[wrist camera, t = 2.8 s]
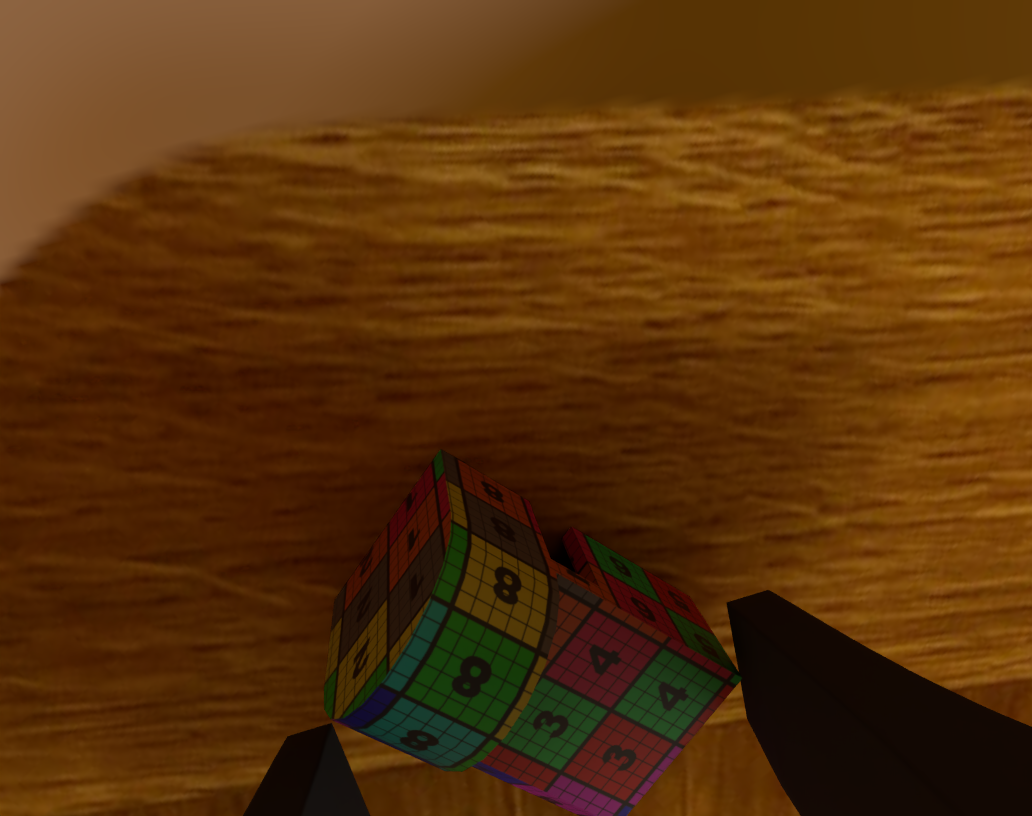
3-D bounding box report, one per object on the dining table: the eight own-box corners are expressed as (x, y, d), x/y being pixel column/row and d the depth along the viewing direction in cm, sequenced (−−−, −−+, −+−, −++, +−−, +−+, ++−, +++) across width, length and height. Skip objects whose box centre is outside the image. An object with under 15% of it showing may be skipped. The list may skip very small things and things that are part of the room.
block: (287, 666, 12) (250, 861, 9) (441, 449, 11) (460, 575, 8) (601, 811, 14) (665, 1017, 11) (751, 633, 13) (868, 795, 10)
